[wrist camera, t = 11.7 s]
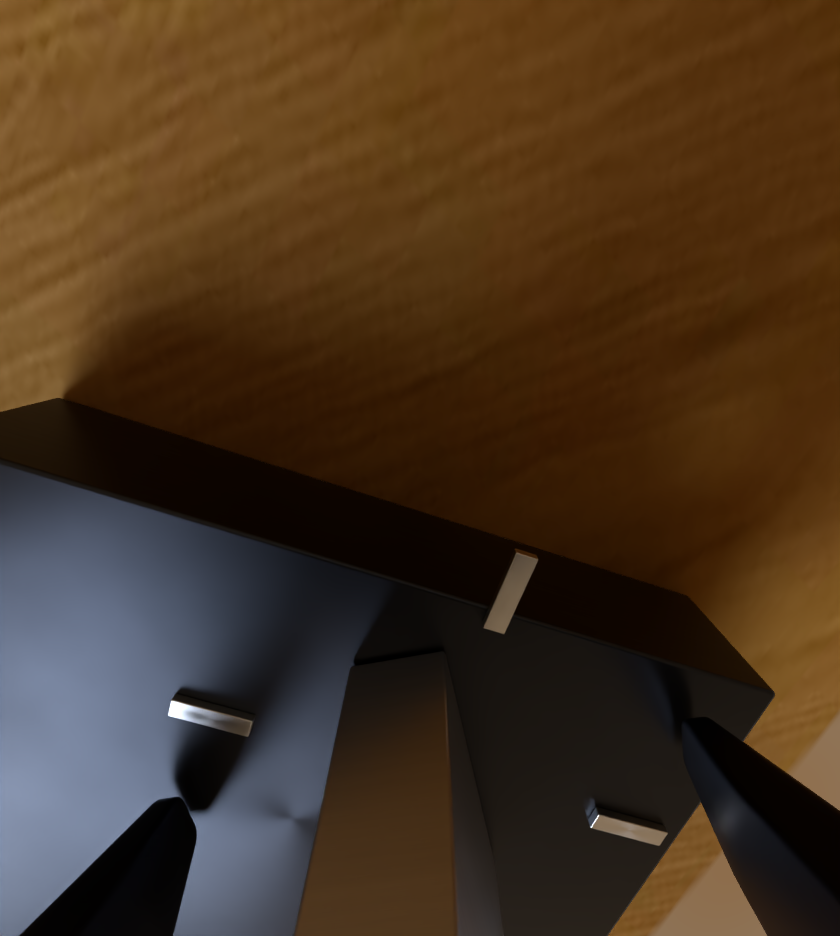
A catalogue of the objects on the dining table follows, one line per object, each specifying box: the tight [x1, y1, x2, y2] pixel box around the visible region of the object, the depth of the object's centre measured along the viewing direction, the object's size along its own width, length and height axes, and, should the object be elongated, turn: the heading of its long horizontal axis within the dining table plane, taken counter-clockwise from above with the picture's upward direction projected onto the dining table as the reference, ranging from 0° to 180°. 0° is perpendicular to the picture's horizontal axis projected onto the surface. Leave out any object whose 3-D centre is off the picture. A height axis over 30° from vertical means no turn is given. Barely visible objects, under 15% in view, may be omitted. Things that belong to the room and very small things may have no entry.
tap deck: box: [0, 398, 775, 936], centre depth 10 cm, size 14×12×3 cm
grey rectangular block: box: [293, 651, 504, 936], centre depth 7 cm, size 5×2×4 cm, turn 12°
